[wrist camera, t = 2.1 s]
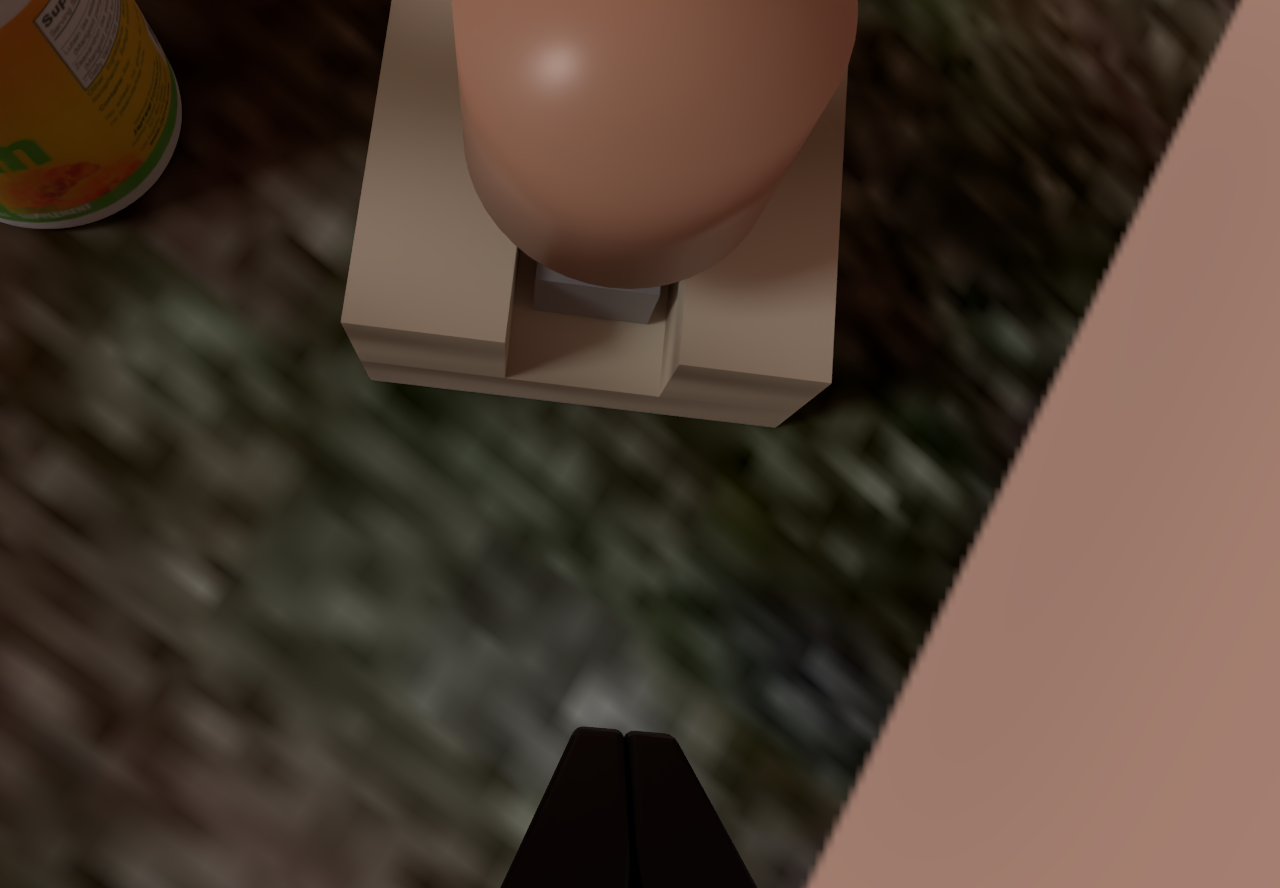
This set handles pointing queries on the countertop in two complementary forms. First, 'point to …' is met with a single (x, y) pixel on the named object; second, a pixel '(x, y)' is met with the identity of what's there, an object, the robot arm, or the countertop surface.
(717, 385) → the knob track
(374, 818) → the countertop surface
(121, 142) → the supplement bottle
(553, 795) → the robot arm
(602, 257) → the knob
